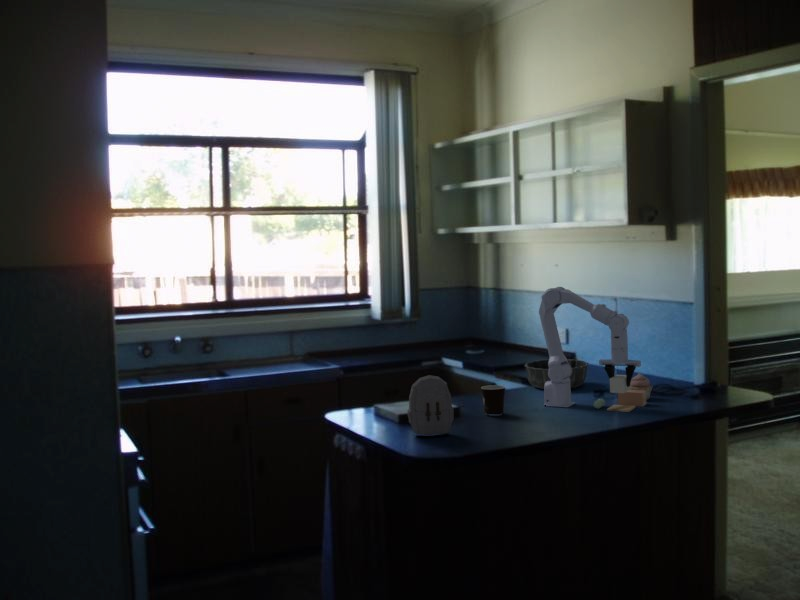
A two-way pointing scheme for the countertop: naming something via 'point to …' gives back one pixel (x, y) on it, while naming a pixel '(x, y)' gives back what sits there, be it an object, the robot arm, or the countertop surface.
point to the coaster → (621, 408)
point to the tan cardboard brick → (632, 398)
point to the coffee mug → (493, 398)
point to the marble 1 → (597, 404)
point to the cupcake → (641, 384)
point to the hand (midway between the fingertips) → (620, 385)
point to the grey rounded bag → (430, 406)
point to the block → (619, 384)
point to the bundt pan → (539, 369)
